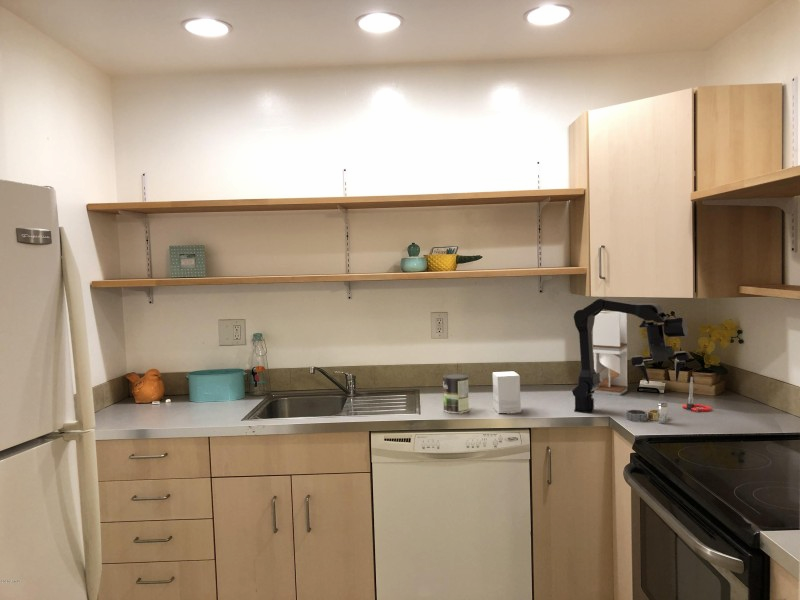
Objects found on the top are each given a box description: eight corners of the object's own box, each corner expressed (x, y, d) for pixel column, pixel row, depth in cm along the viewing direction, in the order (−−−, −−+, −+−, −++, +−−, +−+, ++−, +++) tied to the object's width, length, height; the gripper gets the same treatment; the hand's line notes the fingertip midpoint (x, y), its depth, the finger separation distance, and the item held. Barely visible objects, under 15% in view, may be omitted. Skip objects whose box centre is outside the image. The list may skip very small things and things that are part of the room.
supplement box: (515, 407, 233) (514, 370, 232) (521, 413, 224) (520, 375, 223) (492, 408, 232) (492, 371, 231) (498, 414, 223) (497, 376, 222)
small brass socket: (647, 419, 209) (647, 412, 209) (648, 415, 214) (648, 409, 214) (664, 421, 207) (664, 414, 207) (665, 417, 212) (665, 410, 212)
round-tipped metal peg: (657, 423, 204) (657, 404, 204) (658, 421, 207) (658, 402, 206) (667, 424, 203) (667, 404, 202) (667, 422, 206) (667, 402, 205)
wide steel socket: (625, 420, 209) (625, 413, 209) (627, 415, 215) (627, 409, 215) (646, 422, 206) (646, 415, 206) (647, 417, 212) (647, 410, 212)
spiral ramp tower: (593, 392, 254) (592, 313, 251) (601, 387, 262) (600, 311, 260) (620, 395, 247) (619, 314, 244) (627, 390, 255) (626, 311, 253)
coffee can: (445, 414, 226) (444, 378, 225) (441, 407, 236) (440, 373, 235) (471, 413, 226) (470, 377, 225) (466, 406, 237) (465, 372, 236)
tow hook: (698, 406, 227) (680, 407, 224) (700, 374, 226) (681, 375, 223) (716, 411, 219) (697, 413, 216) (718, 378, 218) (699, 379, 215)
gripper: (628, 343, 201) (635, 388, 200) (687, 337, 194) (694, 383, 194) (627, 340, 211) (634, 383, 211) (683, 334, 205) (690, 378, 204)
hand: (662, 382), depth 205 cm, fingers open, 9 cm apart
